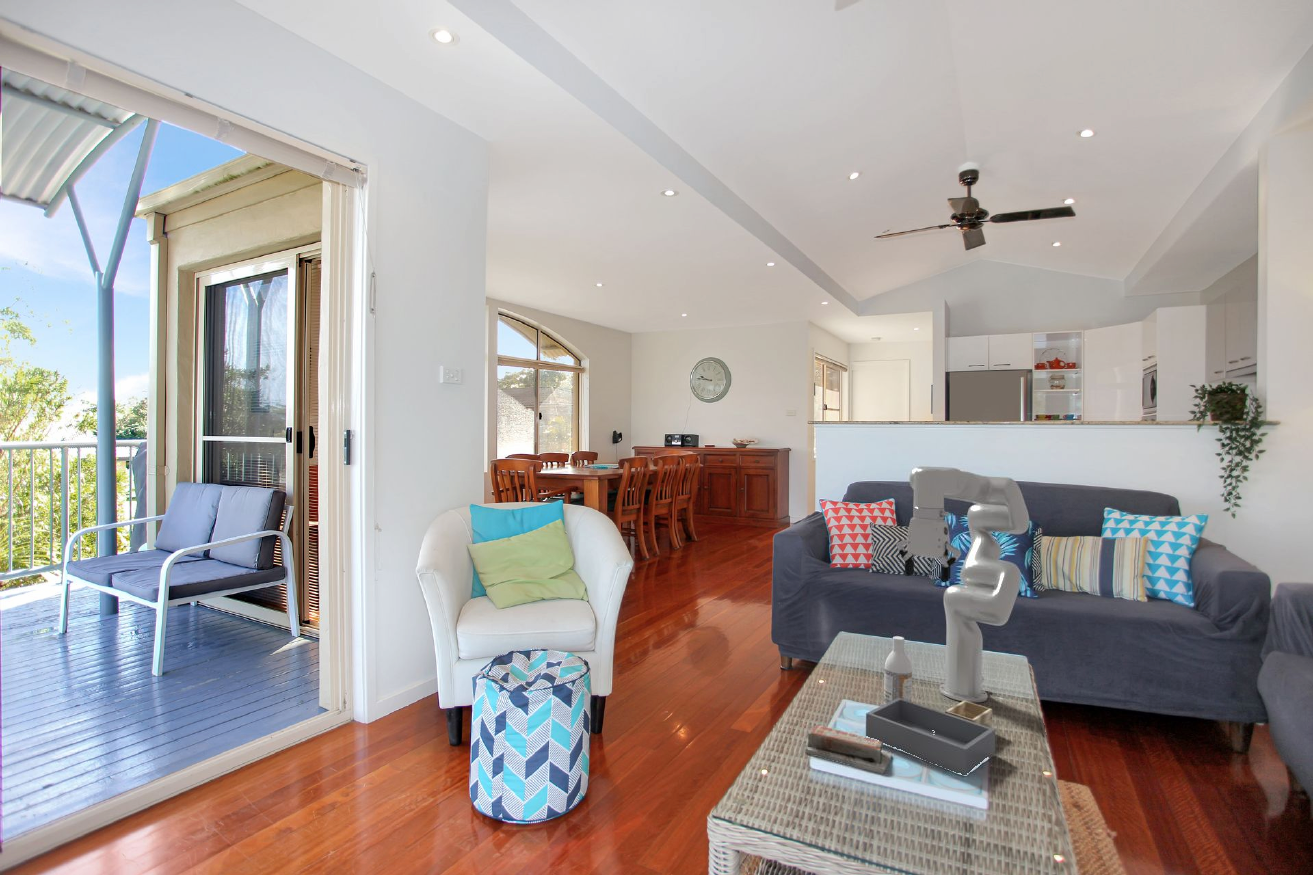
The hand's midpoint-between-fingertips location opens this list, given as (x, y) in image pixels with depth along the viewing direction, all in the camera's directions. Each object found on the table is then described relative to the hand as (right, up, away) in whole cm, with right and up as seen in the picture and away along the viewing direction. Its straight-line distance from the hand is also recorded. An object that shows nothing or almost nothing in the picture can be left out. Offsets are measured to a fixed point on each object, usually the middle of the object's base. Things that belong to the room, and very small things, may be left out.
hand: (927, 578), depth 172 cm
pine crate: (+6, -37, -10) cm, 39 cm away
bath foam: (-7, -37, +2) cm, 38 cm away
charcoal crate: (-7, -36, -18) cm, 41 cm away
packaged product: (-28, -37, -23) cm, 51 cm away
